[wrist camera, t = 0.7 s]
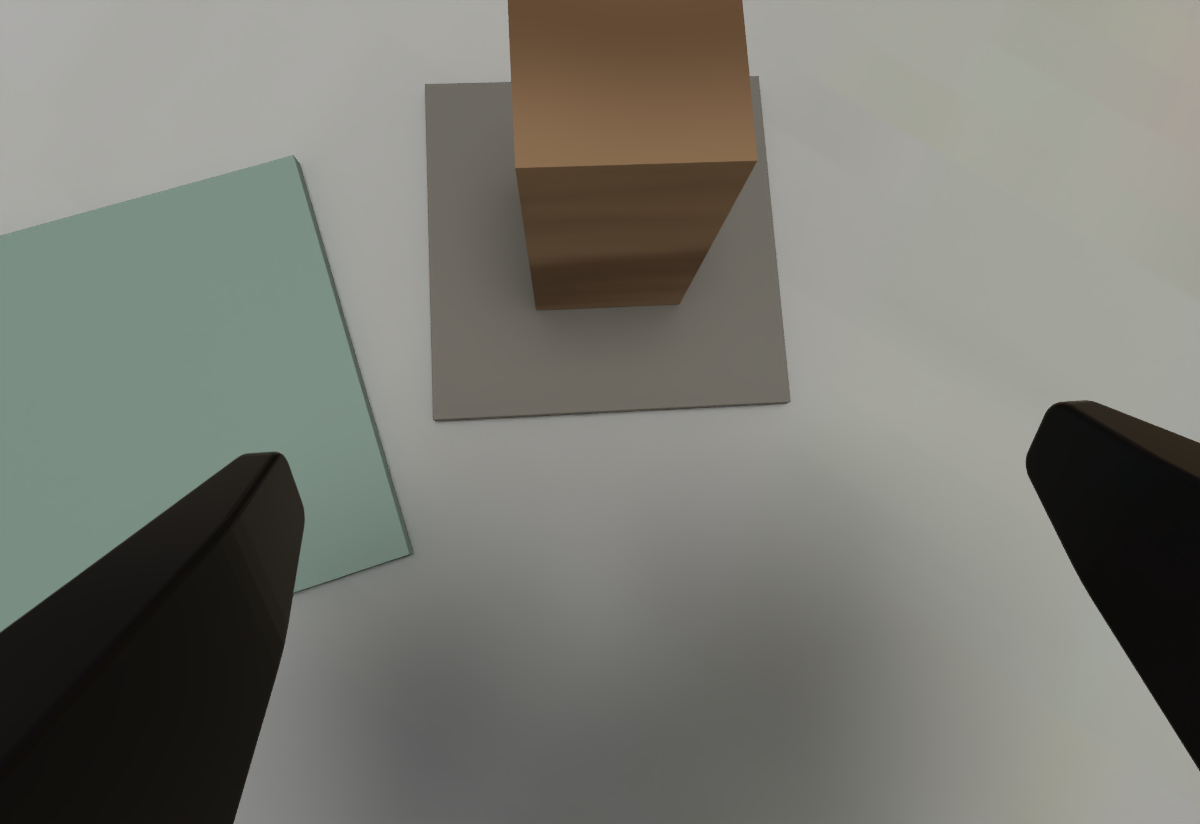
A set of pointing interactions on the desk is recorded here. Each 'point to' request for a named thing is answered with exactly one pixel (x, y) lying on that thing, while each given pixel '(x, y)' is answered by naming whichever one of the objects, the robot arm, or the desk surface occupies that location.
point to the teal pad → (179, 378)
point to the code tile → (588, 335)
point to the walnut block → (627, 143)
